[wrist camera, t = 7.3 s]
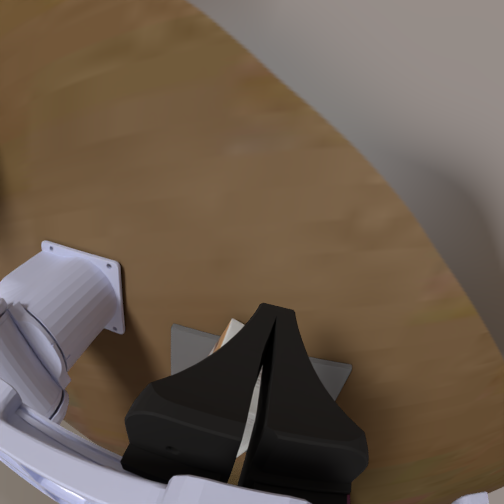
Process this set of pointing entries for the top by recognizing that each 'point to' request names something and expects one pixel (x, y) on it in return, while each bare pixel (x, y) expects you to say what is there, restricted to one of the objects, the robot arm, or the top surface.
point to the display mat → (201, 343)
